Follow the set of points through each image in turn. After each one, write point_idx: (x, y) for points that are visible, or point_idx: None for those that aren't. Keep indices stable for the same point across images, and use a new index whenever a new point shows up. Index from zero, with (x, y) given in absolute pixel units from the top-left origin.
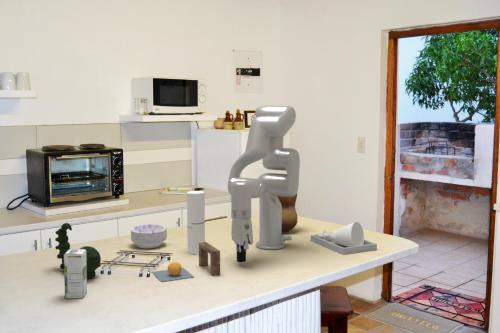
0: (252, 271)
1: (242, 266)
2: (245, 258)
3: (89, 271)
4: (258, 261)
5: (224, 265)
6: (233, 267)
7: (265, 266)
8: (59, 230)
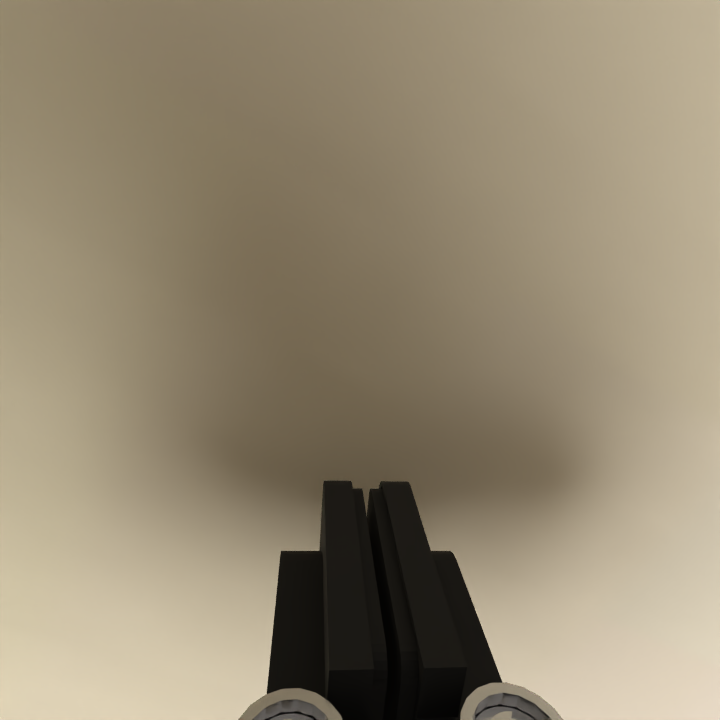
0: (708, 482)
1: None
2: (415, 523)
3: None
4: (278, 85)
5: (236, 686)
6: None
7: (654, 153)
8: None
